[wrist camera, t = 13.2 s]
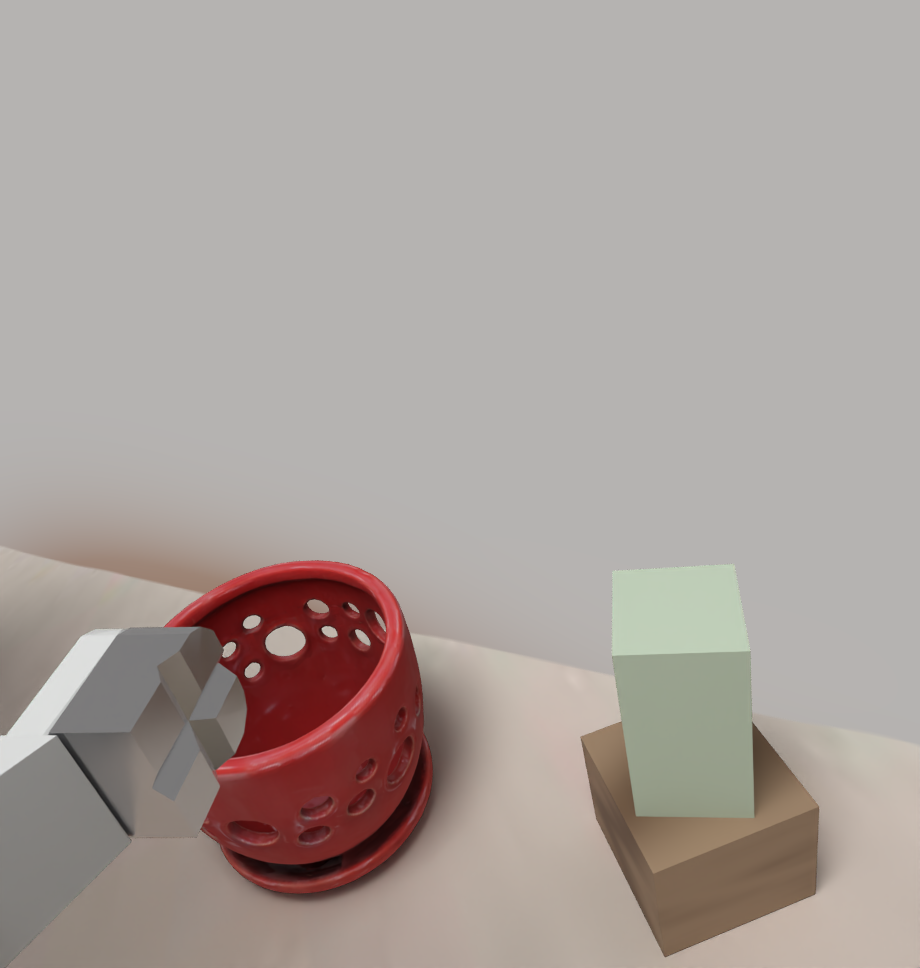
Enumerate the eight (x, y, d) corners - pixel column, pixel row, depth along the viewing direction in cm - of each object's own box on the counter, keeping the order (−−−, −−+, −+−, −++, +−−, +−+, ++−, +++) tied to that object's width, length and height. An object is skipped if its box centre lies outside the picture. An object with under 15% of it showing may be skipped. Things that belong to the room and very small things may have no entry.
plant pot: (165, 880, 41) (56, 724, 35) (310, 692, 51) (244, 541, 44) (375, 975, 35) (288, 805, 29) (496, 740, 45) (450, 573, 38)
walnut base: (596, 818, 39) (580, 736, 36) (726, 767, 40) (721, 683, 37) (664, 956, 33) (653, 873, 30) (815, 893, 34) (819, 806, 31)
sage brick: (754, 818, 31) (750, 651, 27) (635, 816, 32) (611, 655, 28) (739, 725, 35) (734, 563, 30) (633, 726, 36) (612, 570, 31)
